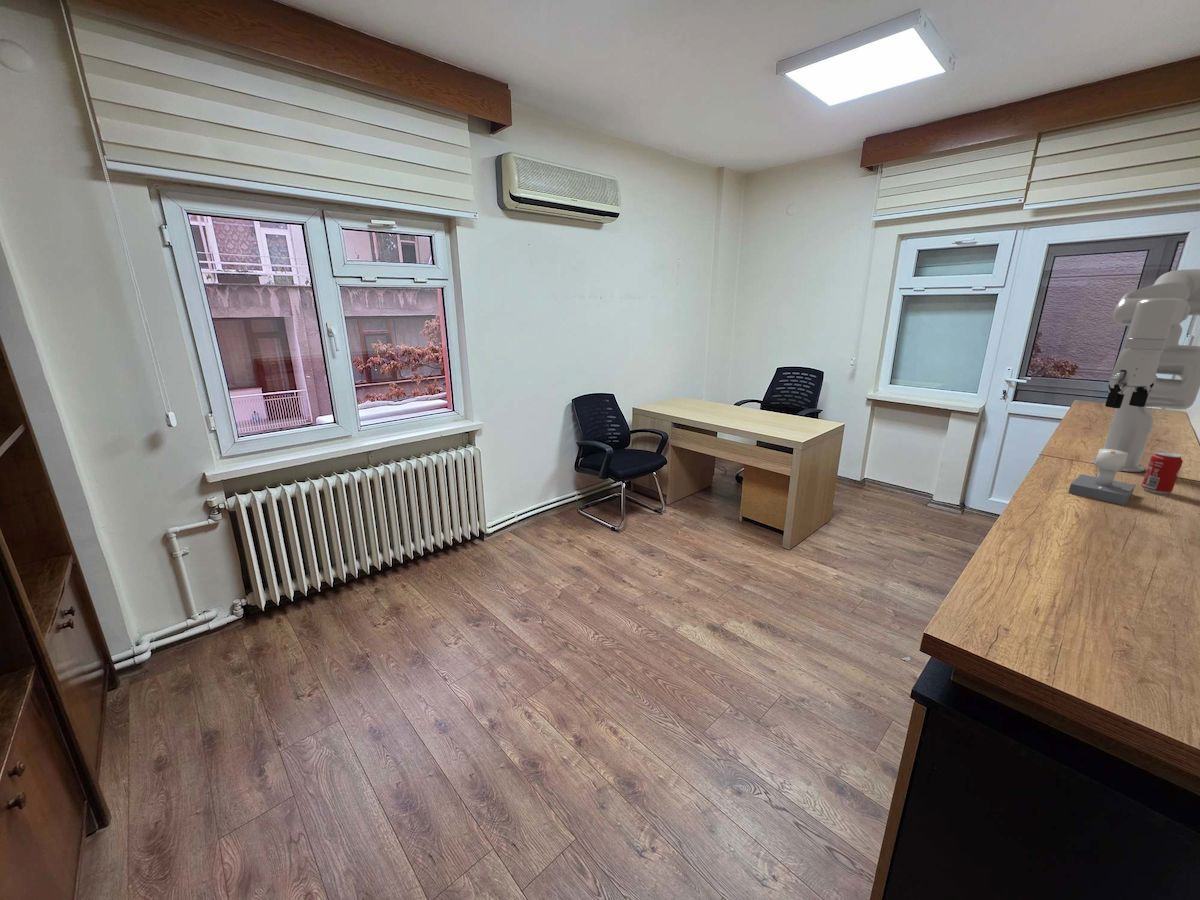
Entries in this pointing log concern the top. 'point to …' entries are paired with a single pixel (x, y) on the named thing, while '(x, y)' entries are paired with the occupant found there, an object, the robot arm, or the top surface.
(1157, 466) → the beverage can
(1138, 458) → the robot arm
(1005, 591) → the top surface
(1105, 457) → the white rounded dome
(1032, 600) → the top surface
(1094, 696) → the top surface
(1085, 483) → the stub base
